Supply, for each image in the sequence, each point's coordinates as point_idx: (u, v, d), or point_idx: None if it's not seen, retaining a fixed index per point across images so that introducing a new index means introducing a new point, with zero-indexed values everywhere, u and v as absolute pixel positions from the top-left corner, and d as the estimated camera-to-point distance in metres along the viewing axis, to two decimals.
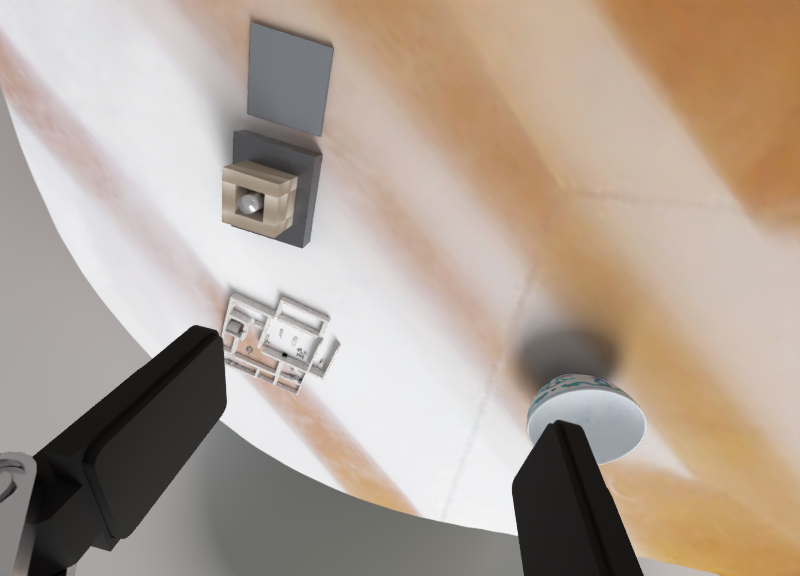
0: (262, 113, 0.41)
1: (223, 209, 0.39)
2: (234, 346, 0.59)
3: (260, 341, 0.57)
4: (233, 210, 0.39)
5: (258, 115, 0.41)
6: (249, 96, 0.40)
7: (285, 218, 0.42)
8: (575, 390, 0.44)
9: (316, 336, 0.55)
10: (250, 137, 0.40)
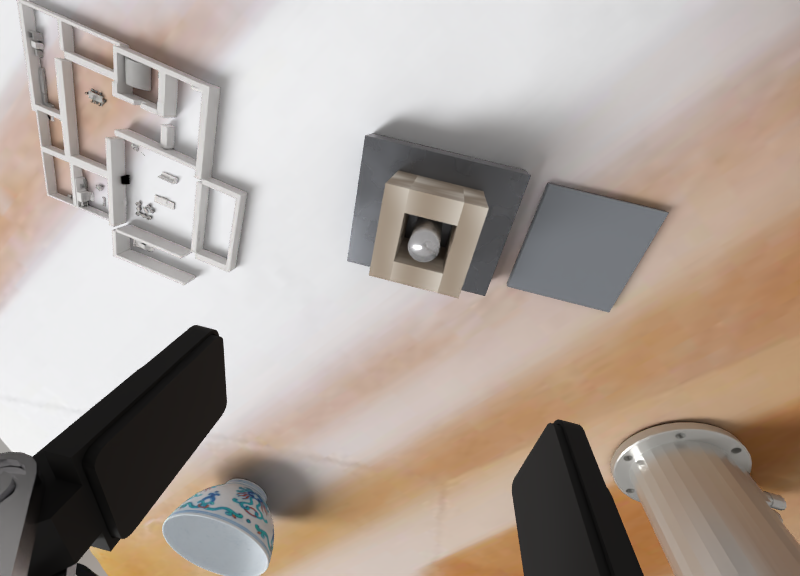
0: (546, 210, 0.27)
1: (410, 192, 0.21)
2: (87, 65, 0.27)
3: (132, 140, 0.28)
4: (410, 211, 0.21)
5: (545, 202, 0.26)
6: (573, 192, 0.26)
7: None
8: (257, 543, 0.44)
9: (193, 249, 0.33)
10: (518, 203, 0.25)
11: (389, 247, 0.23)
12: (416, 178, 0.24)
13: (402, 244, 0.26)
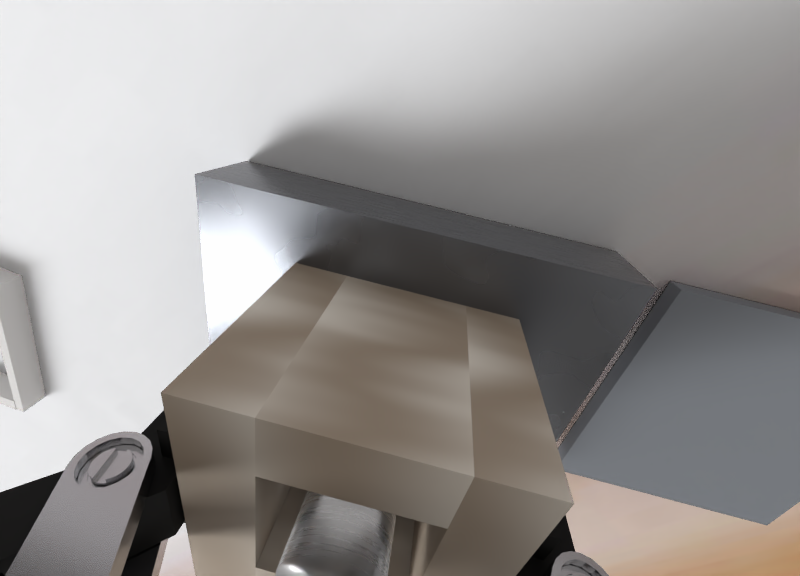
0: (663, 343, 0.11)
1: (260, 426, 0.05)
2: None
3: None
4: (274, 475, 0.06)
5: (663, 327, 0.11)
6: (740, 310, 0.10)
7: None
8: None
9: None
10: (611, 349, 0.09)
11: (233, 541, 0.07)
12: (333, 298, 0.08)
13: None
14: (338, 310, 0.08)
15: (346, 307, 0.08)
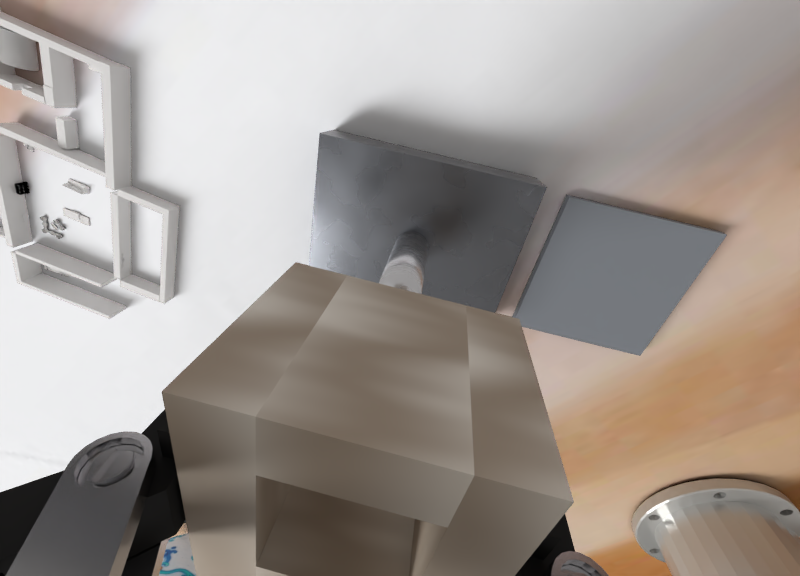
0: (564, 231, 0.20)
1: (260, 425, 0.05)
2: None
3: (19, 137, 0.21)
4: (275, 475, 0.06)
5: (563, 220, 0.20)
6: (601, 208, 0.19)
7: None
8: None
9: (117, 276, 0.26)
10: (529, 224, 0.19)
11: (234, 540, 0.07)
12: (333, 298, 0.08)
13: None
14: (338, 310, 0.08)
15: (346, 307, 0.08)
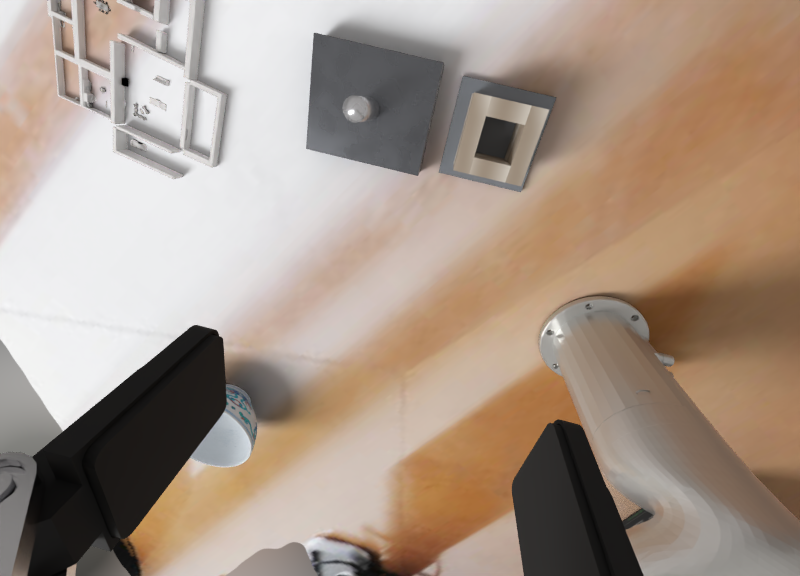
0: (462, 99, 0.33)
1: (492, 98, 0.29)
2: None
3: (132, 43, 0.35)
4: (490, 115, 0.29)
5: (461, 92, 0.33)
6: (482, 82, 0.33)
7: None
8: (241, 425, 0.51)
9: (182, 146, 0.39)
10: (436, 88, 0.32)
11: (471, 145, 0.31)
12: None
13: None
14: None
15: None
